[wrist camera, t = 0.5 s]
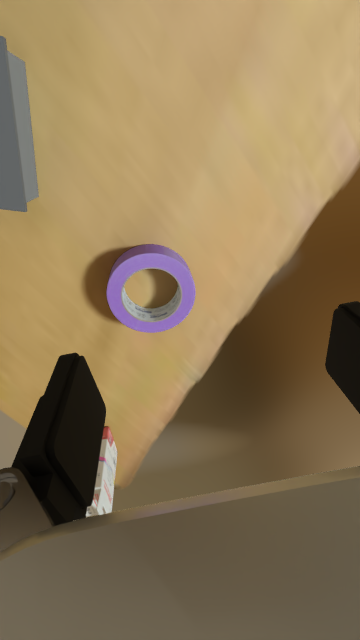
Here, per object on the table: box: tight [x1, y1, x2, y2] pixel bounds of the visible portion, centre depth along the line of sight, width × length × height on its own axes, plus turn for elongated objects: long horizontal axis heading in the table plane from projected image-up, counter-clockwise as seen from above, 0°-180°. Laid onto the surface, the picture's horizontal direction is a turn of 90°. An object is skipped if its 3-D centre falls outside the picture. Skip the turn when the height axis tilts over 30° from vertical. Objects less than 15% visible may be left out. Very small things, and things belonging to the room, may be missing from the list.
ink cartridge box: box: [86, 427, 117, 516], centre depth 51 cm, size 9×5×15 cm, turn 5°
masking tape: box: [106, 244, 195, 333], centre depth 39 cm, size 12×12×4 cm
